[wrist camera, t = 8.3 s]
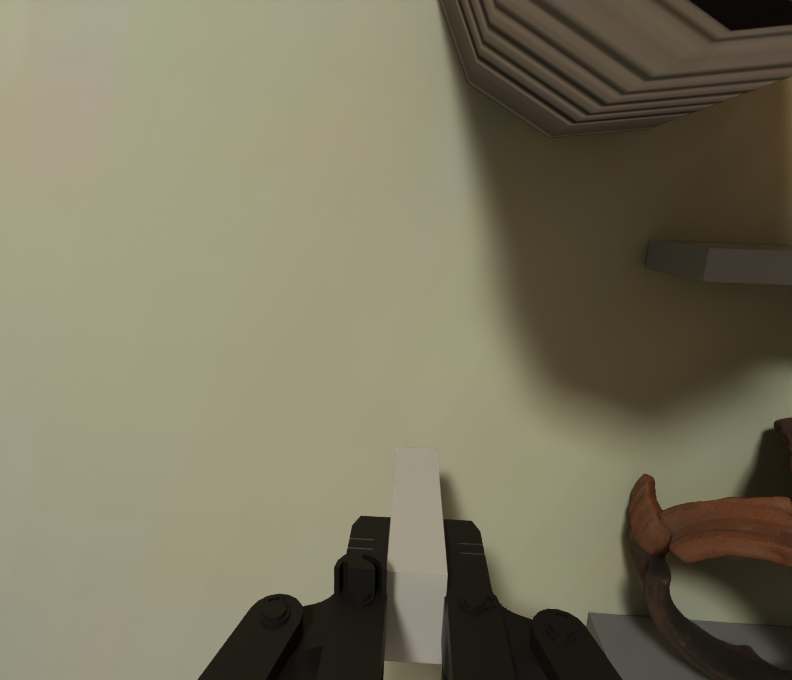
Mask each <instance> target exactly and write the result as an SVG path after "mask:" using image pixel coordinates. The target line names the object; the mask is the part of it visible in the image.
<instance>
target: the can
mask: <svg viewBox="0 0 792 680" xmlns="http://www.w3.org/2000/svg"><path fill="white" fill-rule="evenodd" d="M440 3H441V5H442V8H443V11H444V14H445V17H446V20H447V23H448V26H449V29H450V32H451V34H452V37H453V40H454V43H455V46H456V49H457V52H458V55H459V58H460V60H461V63H462V66H463V69H464V72H465V75H466V78H467V81H468V84H469V85H471V86H472V87H474V88H475V89H477V90H478V91H480V92H481V93H483V94H484V95H486V96H487V97H489V98H490V99H492V100H493V101H495V102H496V103H498V104H499V105H501V106H502V107H504V108H505V109H507V110H508V111H510V112H511V113H512V114H514V115H515V116H517V117H518V118H520V119H521V120H523V121H524V122H526V123H527V124H529V125H530V126H532V127H533V128H535V129H536V130H538V131H539V132H541V133H542V134H544V135H545V136H547V137H548V138H554V137H565V136H576V135H587V134H598V133H609V132H621V131H632V130H643V129H649V128H652V127H655V126H657V125H660V124H663V123H666V122H668V121H671V120H674V119H677V118H679V117H682V116H685V115H687V114H690V113H693V112H696V111H698V110H701V109H704V108H706V107H709V106H712V105H715V104H717V103H720V102H723V101H726V100H728V99H731V98H734V97H736V96H739V95H742V94H745V93H747V92H750V91H753V90H756V89H758V88H761V87H764V86H766V85H769V84H772V83H775V82H777V81H780V80H783V79H786V78H788V77H791V76H792V0H440Z"/></svg>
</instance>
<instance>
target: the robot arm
mask: <svg viewBox="0 0 792 680" xmlns="http://www.w3.org/2000/svg"><path fill="white" fill-rule="evenodd" d="M482 544H483V543H482V538H481V533H480V531H479V529H478V528H477V527H476V526H475V524H474V523H473V522H472V521H465V520H447V519H443V514H442V502H441V490H440V478H439V466H438V455H437V449H429V448H409V447H397V452H396V464H395V476H394V487H393V499H392V511H391V518H390V517H372V516H360V517H359V518H358V520H357V521H356V522H355V523H354V524H353V525H352V529H351V534H350V539H349V544H348V549H347V554H346V555H344V556H343V557H341V558H340V559H339V560H338V561H337V563H336V565H335V567H334V594H333V595H332V596H331V597H329V598H328V599H326V600H324V601H322V602H319V603H316V604H312V605H307V606H302V605H301V603H300V602H299V601H298V600H297V599H296V598H294V597H292V596H290V595H286V594H275V595H270V596H267V597H265V598H263V599H261V600H259V601H257V602H256V603H255V604H254V605H253V606H252V607H251V608H250V610H249V611H248V612H247V614H246V615H245V616H244V618H243V619H242V620H241V622H240V623H239V625H238V626H237V627H236V629H235V630H234V631H233V633H232V634H231V635H230V637H229V638H228V639H227V641H226V642H225V643H224V645H223V646H222V648H221V649H220V650H219V652H218V653H217V654H216V656H215V657H214V658H213V660H212V661H211V662H210V664H209V665H208V666H207V668H206V669H205V670H204V672H203V673H202V675H201V676H200V677H199V679H198V680H383V675H384V661H399V662H415V663H430V664H441V660H442V678H441V680H623V679H622V678H621V677H620V675H619V674H618V672H617V671H616V669H615V668H614V666H613V665H612V664H611V662H610V661H609V659H608V658H607V656H606V655H605V653H604V652H603V651H602V649H601V648H600V646H599V645H598V643H597V642H596V641H595V639H594V638H593V636H592V635H591V633H590V632H589V630H588V629H587V628H586V626H585V625H584V624H583V623H582V622H581V621H580V620H579V619H578V618H576V617H575V616H573V615H571V614H570V613H568V612H565V611H561V610H558V609H546V610H543V611H540V612H538V613H537V614H536V615H535V616H534V617H533V620H532V619H529V618H526V617H523V616H520V615H517V614H515V613H512V612H510V611H509V610H507V609H506V608H504V607H503V606H502V605H501V604H500V603H499V601H498V599H497V597H496V596H495V595H494V594H493V592H492V589H491V584H490V579H489V574H488V568H487V563H486V558H485V555H484V548H483V545H482Z"/></svg>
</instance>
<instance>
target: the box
mask: <svg viewBox="0 0 792 680" xmlns="http://www.w3.org/2000/svg"><path fill="white" fill-rule="evenodd" d="M645 267H647V268H651V269H655V270H659V271H663V272H667V273H671V274H674V275H678V276H682V277H686V278H690V279H694V280H698V281H702V282H724V283H749V284H773V285H792V246H785V245H758V244H731V243H705V242H678V241H651V240H650V241H649V247H648V254H647V260H646V266H645ZM690 621H692V622H693V623H695V624H696V625H698V626H699V627H700V628H702V629H703V630H705V631H706V632H708V633H709V634H711V635H712V636H713V637H715V638H717V639H719V640H722V641H725V642H727V643H729V644H732V645H747V646H751V647H752V649H753V650H754V651H755V652H756V653H757V655H758V656H760V657H761V658H762V659H763V660H765V661H767V662H768V663H770V664H772V665H774V666H775V667H777V668H779V669H781V670H792V627H780V626H766V625H752V624H738V623H724V622H710V621H696V620H690ZM586 628H587V629H588V630H589V632H590V633H591V635H592V636H593V638H594V639H595V641H596V642H597V643H598V645H599V646H600V648H601V649H602V651H603V652H604V653H605V655H606V656H607V658H608V659H609V661H610V662H611V664H612V665H613V666H614V668H615V669H616V671H617V672H618V674H619V675H620V677H621V678H622V679H623V680H713V679H711V678H710V677H709V676H707V675H706V674H705V673H703V672H702V671H701V670H700V669H698V668H697V667H695V666H693V665H692V664H690V663H689V662H687V660H686V659H685V658H684V657H683V656H682V655H681V654H680V653H679V652H678V651H676V649H675V648H674V645H673V644H672V643H670V642H668V641H667V640H666V639H665V637H664V636H663V635H662V634H661V632H660V631H659V630H658V628H657V627H656V626H655V624H654V622H653V620H652V618H651V617H640V616H626V615H613V614H599V613H589V615H588V621H587V627H586Z"/></svg>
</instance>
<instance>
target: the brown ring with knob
mask: <svg viewBox="0 0 792 680" xmlns="http://www.w3.org/2000/svg"><path fill="white" fill-rule="evenodd" d="M774 428H775V430H776V432H777V433H778V434H779V435H780V436H781V437H782V438H783V439H784V441H785V443H786V445H787V446H788V450H789V453H790V455H791V457H790V459H789V462H790V464H789V467H790V471H791V474H792V418H785V419H780V420H776V421H775V422H774ZM628 513H629V515H630V526H628V528H627V539H628V542H629V547H630V551H631V554H632V557H633V560H634V563H635V567H636V569H637V572H638V574H639V576H640V578H641V581H642V583H643V588H644V597H645V600H646V604H647V608H648V611H649V614H650V616H651V618H652V620H653V622H654V624H655V626H656V627H657V628H658V630H659V631H660V632H661V634H662V635H663V636H664V637H665V639H666V640H667V641H668V642H670V643H672V644H673V645H674V648H675V649H676V651H678V652H679V653H680V654H681V655H682V656H683V657H684V658H685V659H686V660H687V662H689V663H690V664H692V665H693V666H695V667H697V668H698V669H700V670H701V671H702V672H703V673H705V674H706V675H707V676H709V677H710V678H711V679H713V680H792V670H781V669H779V668H777V667H775V666H774V665H772V664H770V663H768V662H767V661H765V660H763V659H762V658H761V657H760V656H758V655H757V653H756V652H755V651H754V650H753V649H752V647H751V646H747V645H732V644H729V643H727V642H725V641H722V640H719V639H717V638H715V637H713V636H712V635H711V634H709V633H708V632H706V631H705V630H703V629H702V628H700V627H699V626H698V625H696V624H695V623H693V622H692V621H690V620H689V619H687V618H686V617H684V616H683V615H682V613H681V612H680V611H679V610H678V609H677V608H676V606H675V605H674V603H673V601H672V599H671V596H670V589H669V586H670V581H671V572H670V568H669V566H668V563H667V562H666V560H665V557H664V556H665V555H666V554H667V553H668V552H669V551H671V552H672V553H673V554H675V555H676V556H677V557H678V558H679V559H680V560H682V561H683V562H684V563H693V562H697V561H703V560H706V559H712V558H718V557H725V556H733V557H744V558H752V559H759V560H764V561H768V562H772V563H776V564H779V565H783V566H787V567H790V568H792V501H791V499H790V498H788V497H783V496H773V497H750V498H744V497H727V498H722V499H718V500H712V501H704V502H703V501H698V502H690V503H685V504H680V505H677V506H673V507H671V508H668V509H666V510H662V509H661V507H660V505H659V503H658V501H657V500H656V490H655V481H654V478H653V477H652V476H650V475H647V474H643V475H642V476H641V478H640V479H639V480H638V481H637V483H636V485H635V486H634V488H633V490H632V492H631V496H630V505H629V508H628Z"/></svg>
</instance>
